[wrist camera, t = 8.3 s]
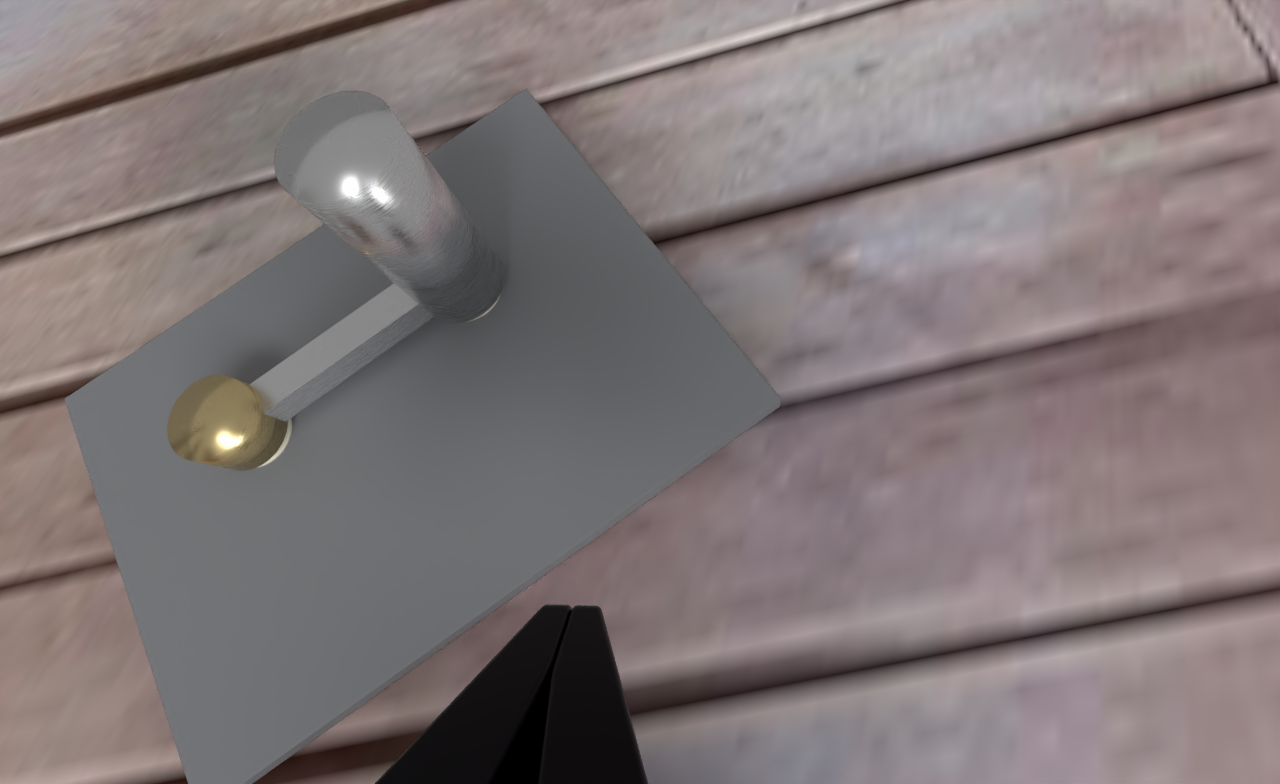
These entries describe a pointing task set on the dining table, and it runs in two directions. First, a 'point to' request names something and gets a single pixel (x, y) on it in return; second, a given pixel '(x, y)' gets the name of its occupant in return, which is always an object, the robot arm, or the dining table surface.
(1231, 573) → the dining table surface
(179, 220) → the dining table surface
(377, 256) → the ball-knob lever
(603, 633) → the robot arm
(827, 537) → the dining table surface
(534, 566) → the bolt-hole plate
